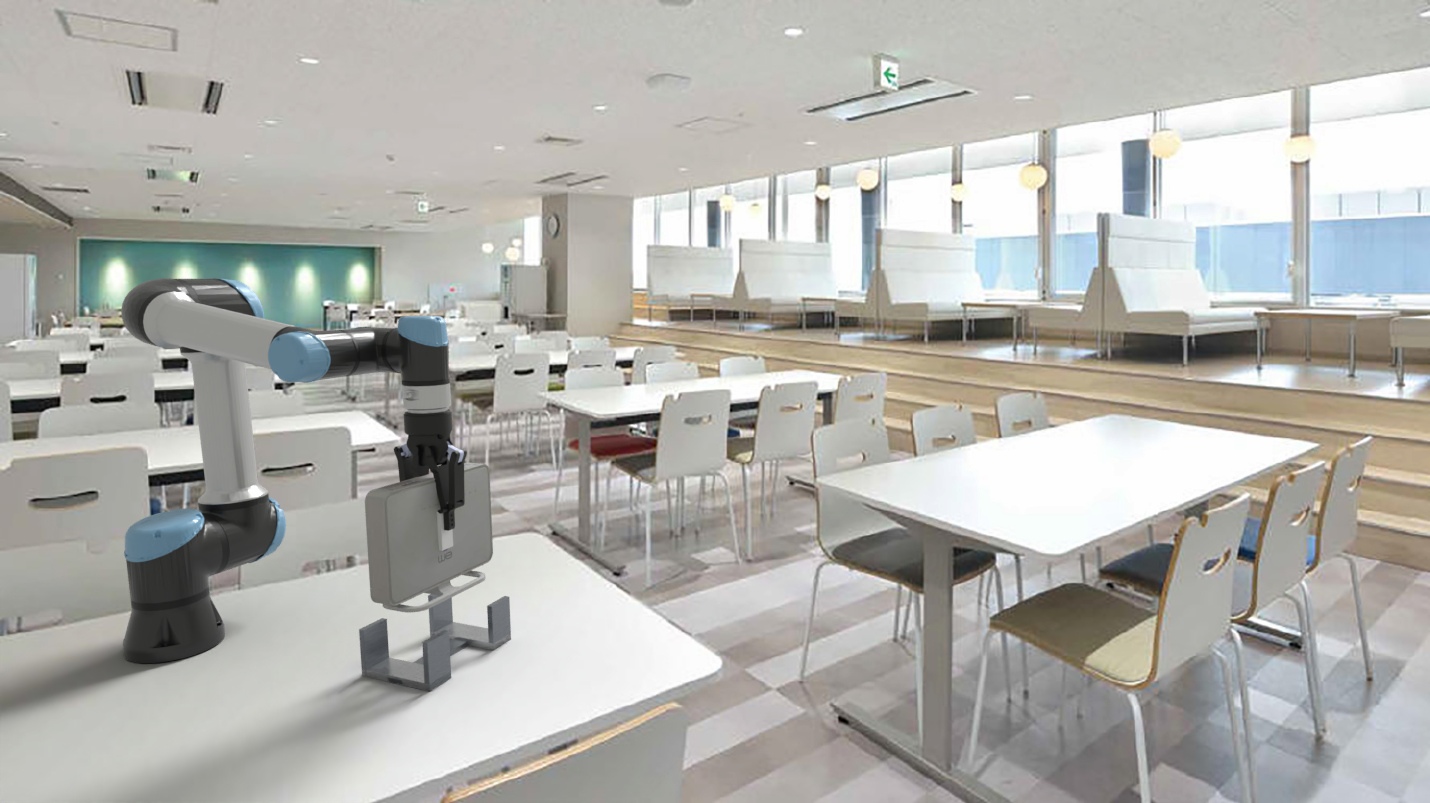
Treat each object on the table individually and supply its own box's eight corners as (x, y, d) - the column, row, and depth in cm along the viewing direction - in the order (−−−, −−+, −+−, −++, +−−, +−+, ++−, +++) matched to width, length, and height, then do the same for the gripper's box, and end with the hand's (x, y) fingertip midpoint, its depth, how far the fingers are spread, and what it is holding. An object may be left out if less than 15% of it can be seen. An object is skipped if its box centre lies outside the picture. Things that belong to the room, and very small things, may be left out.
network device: (401, 622, 126) (394, 495, 124) (358, 614, 130) (350, 490, 127) (503, 570, 150) (499, 463, 147) (465, 565, 153) (460, 459, 151)
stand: (362, 675, 135) (359, 629, 133) (448, 626, 154) (446, 586, 153) (429, 691, 129) (427, 643, 128) (511, 638, 149) (509, 596, 147)
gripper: (371, 410, 135) (380, 547, 139) (453, 415, 129) (461, 559, 132) (404, 404, 142) (412, 535, 145) (483, 408, 136) (490, 545, 139)
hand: (435, 546), depth 139 cm, fingers closed on network device, 4 cm apart
